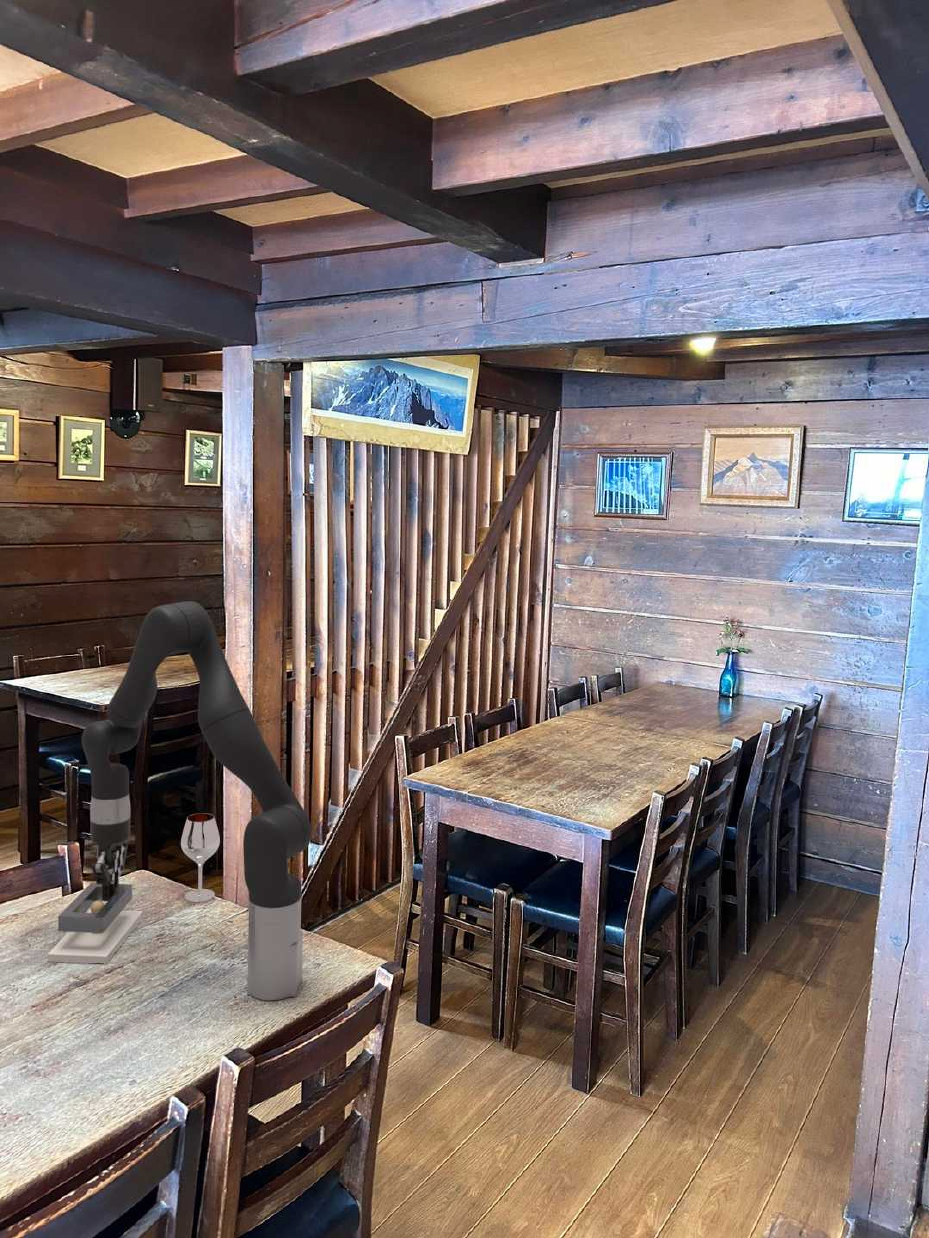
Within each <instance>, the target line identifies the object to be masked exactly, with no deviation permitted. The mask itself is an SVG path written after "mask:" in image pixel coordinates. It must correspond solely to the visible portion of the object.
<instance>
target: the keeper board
mask: <svg viewBox="0 0 929 1238" xmlns="http://www.w3.org/2000/svg"><path fill="white" fill-rule="evenodd" d="M104 905H105V903H104V901H95V902H93V903H92V905H91V907H90V908H89V909H88V911H87V912H86V913H98V912H99V911H100V910H101V908H102V907H103V906H104ZM143 919H144V911H143V910H127V909H126V910H125V909H123V910H122V911H121V912H120V913H119V915H118V916H117V917H116V918H115V919H114V921H113V922H112V923H111V924H110V925H109V926H108V928H107V929H106V930H105V931H104V932H103V933H88V932H67V933H65V935H64V936H63V937H62V938H61V939H60V941H58V943H57V944H55V946H54V947H53V948H52V949H51V950H50V951H49V952H48V953H47V963H65V962H66V964H69V963H73V964H88V963H102V964H101V965H107V964H108V963H109V962H110V961H111V959H112V958H113V957H114V955H115V954H116V953H117V952H118V950H119V949H120V948H121V947H122V946H123V944H124V943H125V942H126V941H127V939H128V938H129V936H130V935H131V934H132V933H133V932H134V930H135V928H137V926H138V925H139V924H140V922H141V921H142V920H143ZM131 932H132V933H131ZM120 946H121V947H120ZM116 951H117V952H116ZM115 952H116V953H115ZM109 960H110V961H109ZM108 961H109V962H108ZM67 962H69V963H67ZM103 963H104V964H103Z"/></svg>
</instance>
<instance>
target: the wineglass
mask: <svg viewBox="0 0 929 1238" xmlns="http://www.w3.org/2000/svg"><path fill="white" fill-rule="evenodd" d="M217 825H218V824H217V822H216V819H215V816H214V815H213V814H212V813H204V812H202V813H201V812H199V813H194V814H191V815H189V816H187V817H186V821H185V824H184V827H183V831H182V835H181V839H180V847H181V850H182V852H183V853H184V855H186V856H187V857H188V858H189V859H191V860H192V861H194V862H195V863H196V864H197V866H198V867H197V868H198V872H197V873H198V879H197V880H198V881H197V882H198V884H197V886H198V887H197V889H193V890H194V891H192V890H190V891H188V892H186V893H185V895H184V899H185V900H186V901H188V902H191V903H205V902H207V901H211V900H212V899H213V898H215V896H216V894H215V892H214V890H212V889H207V888H203V865H204V864H205V862H206V861H207V860H208V859H209V858H211V857H212V856H213V855H214V854H215V853H216V852H217V851H218V849H219V846H220V843H221V839H220V838H221V837H220V832H219V829H218V826H217ZM195 891H197V892H195ZM208 895H210V896H208ZM212 897H213V898H212Z"/></svg>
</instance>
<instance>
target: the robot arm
mask: <svg viewBox="0 0 929 1238" xmlns="http://www.w3.org/2000/svg"><path fill="white" fill-rule="evenodd" d="M214 626H215V625H214V623H213V621H212V620H211V617H210V615H209V614H208V612H207V610H206V609H205V608H204V607H203V605H201V604H200V603H198V602H196V601H192V600H189V601H188V600H187V601H181V602H174V603H167V604H162V605H158V606H156V607H153V608H152V609H151V610H150V611H148V613H147V614H146V616H145V618H144V620H143V622H142V625H141V627H140V629H139V633H138V636H137V639H136V642H135V644H134V645H135V646H134V649H133V651H132V653H131V657H130V660H129V663H128V666H127V669H126V672H125V673H124V676H123V678H122V680H121V682H120V684H119V685H118V687H117V688H116V691H115V693H114V694H113V696H112V697H111V699H110V701H109V702H108V705H107V708H106V714H107V718H108V719H104V720H99V721H95V722H91V723H89V724H87V725H86V727H85V728H84V729H83V732H82V736H81V744H82V745H81V746H82V749H83V753H84V755H85V757H86V761H87V765H88V769H89V772H90V776H91V800H90V806H89V807H90V809H89V812H90V814H89V815H90V816H89V817H90V818H89V819H90V820H89V821H90V825H89V826H90V828H89V829H90V831H89V833H90V841H91V842H92V843H94V844H96V845H97V846H98V849H97V852H96V859H97V862H92V864H91V866H90V867H91V870H92V871H91V872H92V873H93V877H94V880H95V883H97V884H102V900H103V901H102V902H108V901H109V900H110V898H111V897H112V896H113V895H114V884H120V882H119V881H120V880H119V878H120V876H121V875H122V874H121V872H123V871H124V870H125V863H126V857H127V852H128V847H129V842H128V841H127V840H129V838H130V836H131V801H130V800H131V799H130V772H129V769H128V767H127V766H126V765H125V764H121V763H116V762H115V763H114V762H113V763H112V762H111V763H110V760H109V756H113V755H116V754H121V753H125V752H128V751H130V750H132V749H133V748H134V747H135V746H136V745H137V744H138V742H139V739H140V737H141V731H142V727H143V720H144V717H146V715H147V713H148V711H149V709H150V708H151V706H152V705H153V704H154V701H155V698H156V697H157V693H158V680H157V675H156V673H157V670H158V668H159V667H160V665H162V663H163V662H164V661H165V660H166V659H167V658H168V657H169V656H172V655H177V654H182V653H185V652H187V653H188V654H189V656H190V657H191V660H192V662H193V664H194V666H195V669H196V671H197V675H198V681H199V692H198V693H199V694H198V704H197V720H198V725H199V728H200V730H201V733H202V735H203V737H204V739H205V741H206V743H207V745H208V747H209V750H210V751H211V753H212V754H213V756H214V758H215V759H216V760H217V761H218V762H219V763H220V764H221V765H222V766H223V767H224V768H226V769H227V770H228V771H229V772H230V773H231V774H233V775H234V776H235V777H237V778H238V779H239V780H240V781H241V782H243V783H244V784H245V785H246V786H247V787H248V788H249V790H250V791H251V792H252V794H253V795H254V796H255V798H256V800H257V802H258V804H259V806H260V808H261V810H262V813H260V814H258V815H256V816H254V817H253V818H251V819H250V820H249V821H248V822H247V824H246V827H245V829H244V834H243V843H242V844H243V845H242V847H243V872H244V873H243V874H244V882H245V885H246V887H247V890H248V928H247V929H248V932H247V936H248V937H247V938H248V940H247V941H248V942H247V979H246V981H247V982H246V983H247V987H246V988H247V992H248V994H249V995H250V996H252V997H253V998H255V999H258V1000H262V1001H278V1000H283V999H286V998H292V997H293V998H294V997H297V994H298V992H299V988H300V986H301V984H302V980H303V978H302V977H303V976H302V975H303V940H304V939H303V938H304V937H303V935H304V932H303V930H301V929H302V927H301V926H302V923H301V922H302V921H301V920H302V915H301V914H302V887H303V886H302V882H301V880H300V878H298V876H296V875H294V874H291V873H288V870H289V869H288V860H289V859H291V858H292V857H294V856H296V855H298V854H300V853H302V852H303V851H305V850H306V849H307V848H308V846H309V845H310V843H311V841H312V836H313V835H312V827H311V822H310V820H309V817H308V816H307V813H306V811H305V809H304V807H303V806H302V805H301V803H300V801H299V800H298V798H297V797H296V795H295V794H294V792H293V790H292V789H291V787H290V786H289V784H288V782H287V781H286V779H285V777H284V776H283V774H282V772H281V771H280V768H279V766H278V765H277V763H276V760H275V759H274V757H273V754H272V753H271V751H270V749H269V747H268V746H267V743H266V742H265V740H264V738H263V736H262V732H261V731H260V728H259V726H258V723H257V722H256V720H255V718H254V716H253V714H252V711H251V710H250V708H249V706H248V704H247V702H246V700H245V699H244V696H243V695H242V693H241V691H240V688H239V686H238V684H237V682H236V679H235V677H234V675H233V672H232V671H231V668H230V666H229V663H228V661H227V659H226V655H225V653H224V650H223V648H222V645H221V643H220V640H219V637H218V634H217V632H216V629H215V627H214Z"/></svg>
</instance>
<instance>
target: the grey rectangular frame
mask: <svg viewBox="0 0 929 1238" xmlns="http://www.w3.org/2000/svg"><path fill="white" fill-rule="evenodd" d="M132 899H133V884H130V883H129V884H128V883H119V884H114V895H113V896H112V897H111V898H110V900H109V901H106V903H104V906H103V907H102V908H101V910H100V911H99V912H98V913H87V912H88V911H89V910H90V909H91V905H92V903H93V902H95V901H102V902H104V901H103V900H102V884H97V883H96V882H90V883H89V884H88V885H87V886H85V888H84V889H83V891H81V893H80V894H78V895H77V896H76V898H74V899H73V900H72V901H71V902H70V903H69V904H68V905H67V906H66V908H64V909H63V911H61V913H59V915H57V921H58V923H57V924H58V926H57V927H58V928H57V929H58V932H67V933H68V932H88V933H103V932H104V931H105V930H106V929H107V928H108V926H109V925H110V924H111V923H112V922H113V921H114V919H115V918H116V917H117V916H118V915H119V913H120V912H121V911H122V910H125V907H126V906H127V905H128V904H129V903H130V902H131V901H132Z"/></svg>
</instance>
